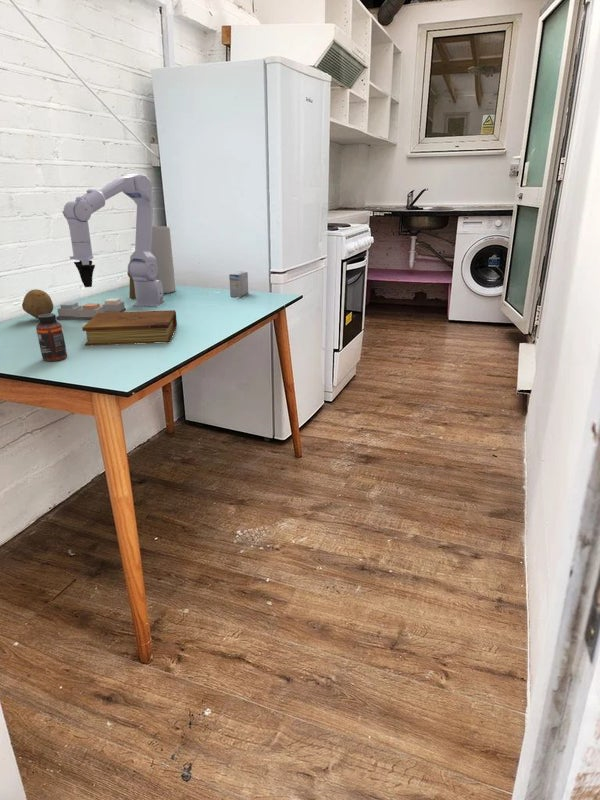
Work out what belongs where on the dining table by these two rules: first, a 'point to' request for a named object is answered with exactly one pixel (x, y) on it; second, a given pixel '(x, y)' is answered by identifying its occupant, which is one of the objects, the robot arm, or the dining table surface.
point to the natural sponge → (37, 303)
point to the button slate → (69, 305)
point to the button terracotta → (91, 306)
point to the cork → (132, 287)
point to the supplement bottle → (51, 338)
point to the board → (89, 311)
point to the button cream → (112, 301)
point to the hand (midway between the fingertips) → (87, 285)
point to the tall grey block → (163, 257)
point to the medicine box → (238, 284)
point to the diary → (130, 327)
